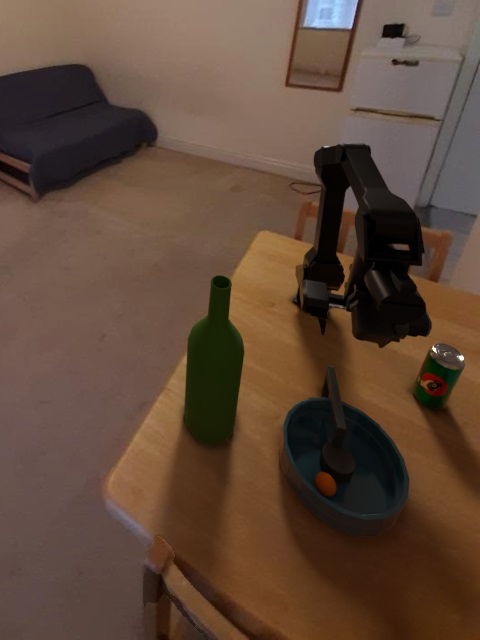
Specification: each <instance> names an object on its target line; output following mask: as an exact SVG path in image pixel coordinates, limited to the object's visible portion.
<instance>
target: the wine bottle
mask: <svg viewBox="0 0 480 640" xmlns="http://www.w3.org/2000/svg"><path fill="white" fill-rule="evenodd" d="M232 286H233V282H232V280H231V279H230V278H229V277H228V276H226V275H222V274H217V275H213V277H212V278H211V279H210V288H209V289H210V290H209V298H208V309H207V315H205V316H204V317H203V318H201V319H200V320H198V321H197V322H195V324H194V325H193V326H192V327H191V330H190V331H189V334H188V337H187V343H186V344H187V348H186V369H185V389H184V409H183V410H184V412H183V418H184V423H185V425H186V428H187V429H188V431H189V433H190V434H191V435H192V436H193V438H195V439H196V440H198V441H199V442H201V443H203V444H205V445H209V446H210V445H211V446H214V445H220V444H223V443H225V442H227V440H229V438H230V437H231V436H232V435H233V432H234V430H235V426H236V425H235V424H236V417H237V412H238V411H237V409H238V402H239V395H240V388H241V380H242V375H243V374H242V373H243V365H244V358H245V345H244V340H243V336H242V334H241V332H240V331H239V330H238V329H237V327H236V326H235V325H234V323H233V322H232V321H231V320H230V308H231V307H230V306H231V296H232Z"/></svg>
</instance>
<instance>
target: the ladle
mask: <svg viewBox="0 0 480 640" xmlns="http://www.w3.org/2000/svg"><path fill="white" fill-rule="evenodd" d="M320 397H327V398H330V402H331V408H332V414H333V420H334V426H335V432H334V435H333V439H332V442H327V443H325V444H324V445H323V447H322V450H321V454H320V458H319V462H320V466H321V468H322V470H323V471H324V472H326V473H328V474H329V475H331V476H332V478H333V479H334V481H336V482H339V483H347V482H349V481H350V480H351V479H352V476H353V473H354V470H355V467H356V464H355V459H354V457H353V455H352V454H351V452H350V451H349V450H348V449H347V448H346V447H344V446H343V445H342V443H343V440H344V436H345V435H346V432H347V427H346V422H345V417H344V412H343V407H342V401H343V400H342V398H341V392H340V387H339V381H338V376H337V372H336V367H335V366H331V365H326V366H325V373H324V377H323V381H322V385H321V389H320Z"/></svg>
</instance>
